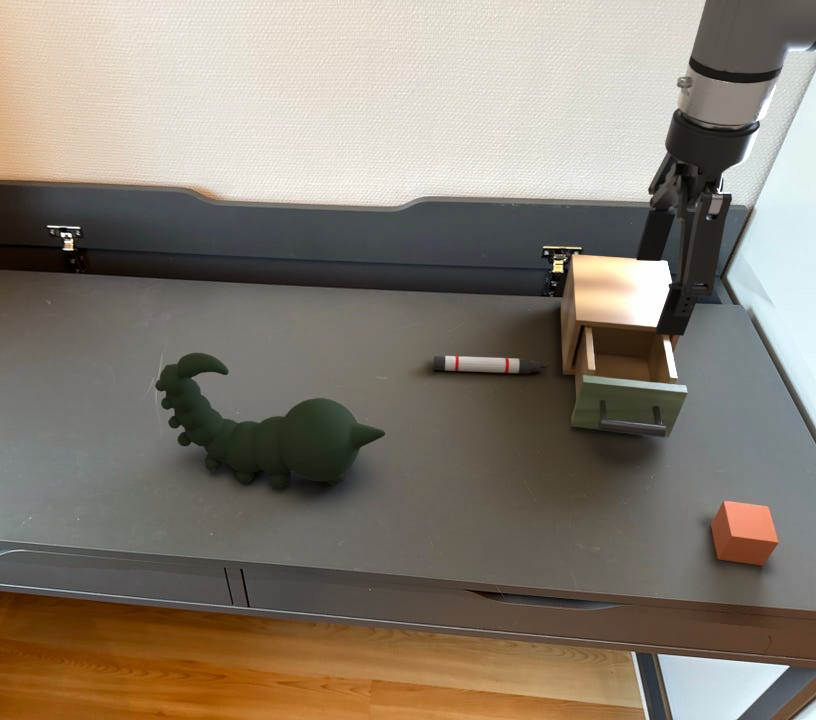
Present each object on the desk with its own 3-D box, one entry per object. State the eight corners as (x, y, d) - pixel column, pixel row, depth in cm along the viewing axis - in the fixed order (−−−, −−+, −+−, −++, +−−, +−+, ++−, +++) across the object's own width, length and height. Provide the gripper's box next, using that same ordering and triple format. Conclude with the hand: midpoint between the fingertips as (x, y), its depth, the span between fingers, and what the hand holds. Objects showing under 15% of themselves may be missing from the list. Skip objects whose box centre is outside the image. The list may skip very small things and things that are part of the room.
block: (753, 530, 76) (768, 506, 73) (763, 565, 73) (779, 542, 70) (710, 524, 77) (723, 500, 74) (717, 559, 74) (731, 536, 71)
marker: (433, 372, 97) (434, 362, 95) (433, 363, 98) (434, 352, 97) (547, 377, 95) (550, 366, 94) (546, 367, 96) (548, 356, 95)
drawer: (673, 465, 82) (693, 420, 77) (572, 453, 84) (585, 408, 79) (655, 362, 95) (671, 317, 89) (567, 353, 97) (578, 309, 91)
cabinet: (661, 384, 93) (682, 329, 86) (562, 374, 95) (575, 319, 89) (649, 314, 103) (667, 260, 97) (560, 307, 106) (571, 253, 99)
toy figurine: (183, 494, 86) (385, 513, 80) (132, 384, 73) (367, 396, 67) (209, 436, 92) (397, 449, 86) (166, 326, 80) (382, 331, 74)
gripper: (652, 62, 75) (609, 232, 90) (705, 178, 57) (641, 366, 72) (727, 63, 74) (671, 234, 89) (805, 181, 56) (719, 371, 71)
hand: (657, 294), depth 80 cm, fingers open, 13 cm apart
